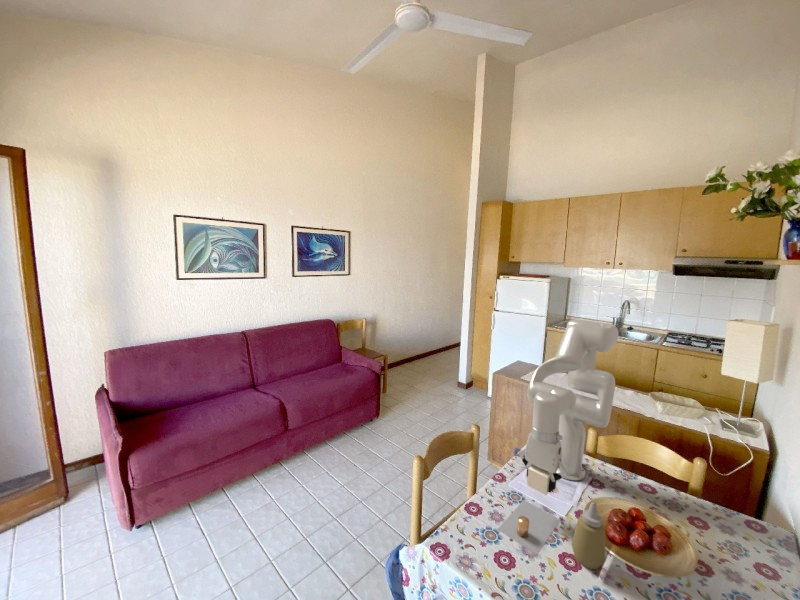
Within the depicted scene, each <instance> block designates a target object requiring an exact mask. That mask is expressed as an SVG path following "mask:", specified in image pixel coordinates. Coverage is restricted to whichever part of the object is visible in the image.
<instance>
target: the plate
mask: <svg viewBox="0 0 800 600" xmlns="http://www.w3.org/2000/svg"><path fill="white" fill-rule="evenodd" d="M519 516H524V517H526V518H528V519H529V531H528V537H527V538H522V537H520V536H519V535H518V534H517V524H518V517H519ZM560 522H561V519H559V518H557V517H556V516H554V515H552V514H551V513H549V512H547V511H545V510H543V509H542V508H539V507H537V506H536V505H534V504H533V503H530V502H529V501H527V500H525V499H523V500H522V501H521V503H519V504H518V506H517V507H516V508H515V509H514V511H512V512H511V514H510V515H509V516H508V517H507V518H506V519H505V521H503V522H502V524H500V526H499V527H498V528H497V530H498V531H499V532H501V534H505V536H507V537H509V538H510V539H511V540H513V541H515V542H516V543H518V544H519V545H521V546H523V547H524V548H526V549H527V550H529V551H530V552H531V553H533V554H535V555H538V553H539V552H540V550H541V549H542V548H543V547H544V545H545V543H546V542H547V540H548V539H549V538H550V536H551V535H552V533H553V532H554V530H555V529H556V527H557V526H558V524H559V523H560Z"/></svg>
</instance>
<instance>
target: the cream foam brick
mask: <svg viewBox="0 0 800 600" xmlns="http://www.w3.org/2000/svg"><path fill="white" fill-rule="evenodd" d="M527 478H528V480H527V479H526V480H527V482H526V485H527V487H528V488H531V489H533V490H534V491H537V492H538V493H540V494H543V495H544V496H547V495H548V494H549V492H548V488H549V480H550V479H551V478H550V475H549V472H548V471H546V470H544V469H542V468H540V467H537V466H535V465H533V464H532V466H530V467H529V468H528V477H527Z"/></svg>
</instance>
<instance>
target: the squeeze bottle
mask: <svg viewBox="0 0 800 600" xmlns="http://www.w3.org/2000/svg"><path fill="white" fill-rule="evenodd" d="M572 537H573V538H572V540H571V541H572V542H571V548H572V552H573V555H574V558H575V560H576V561H577V562H578V563H579V564H580V565H581V566H582V567H585V568H586V569H590V570H598V569H600V568H601V566H602V564H603V563H604V562H605V558H606V529H605V526H604V524H603V518H602V516H601V515H600V514H599V513H598V508H597V503H596V502H594V501H591V503H590V505H589V508H588V509H584V510H583V511H582V515H581V516H578V519H577V522H576V526H575V531H574V534H573V536H572Z"/></svg>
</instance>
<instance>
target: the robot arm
mask: <svg viewBox="0 0 800 600" xmlns="http://www.w3.org/2000/svg"><path fill="white" fill-rule="evenodd" d="M619 336H620V335H619V329H618V327H617V326H616V325H614V324H611V323H604V322H598V321H592V320H585V319H571V320H569V321H568V322H567V324H566V328H565V331H564V333H563V335H562V338H561V340H560V343H559V346H558V348H557V351H556V353H555V356H553V357H552V358H551V357H550V358H549V359H547V360H546V361H544V362H543V363H541V364H540V365H538V367H537V368H536V369H535V370H534V371H533V374H532V376H531V378H530V381H529V383H528V387H527V390H526V396H527V399H528V401H530V402H531V403H532V404H533V409H532V410H533V411H532V425H531V431H530V432H529V434H528V437H527V440H526V445H525V448H524V449H522V450H520V451H519V452H518V453H517V454H518V456H519V457H520V459H521V461H522V462H523V464H524V466H525V470H526V475H525V476H526V478H527V479H526V480H528V468H529V467H530V466H532V464H533V465H535V466H537V467H540V468H542V469H544V470H546V471H548V472H549V475H550V478H551V479H550V480H549V488H548V493H552V491H555V490H556V487H557V481H559V480H561V479H566V480H569V481H582V480H583V479H585V478H586V470H585V469H584V467H583V457H584V449H585V442H586V429H585V426H584V424H583V423H585V424H588V425H590V426H594V427H598V428H606V427H608V425H609V423H610V419H611V414H612V408H613V403H614V397H615V390H616V380H615V376H614V374H613V373H610V372H608V371H605V370H601V369H597V368H596V362H597V353H596V352H598V353H607V352H609V351H610V350H611V349H613V347H614V346H615V345H616V344H617V342H618V340H619ZM561 373H567V377H566V378H567V380H566V382H567V385H568V386H569V387H570V388H571V389H573V390H575V391H579V392H583V393H586V394H590V395H594V396H596V397H597V399H596V398H593V397H590V396H585V395H583V394H579V393H575V392H574V391H572V390H571V389H568V388H565V387H562V386H557V385H554V384H551V383H549V382H548V383H547V382H545V379H546V378H548V377H549V376H552V375H555V374H561Z"/></svg>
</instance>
